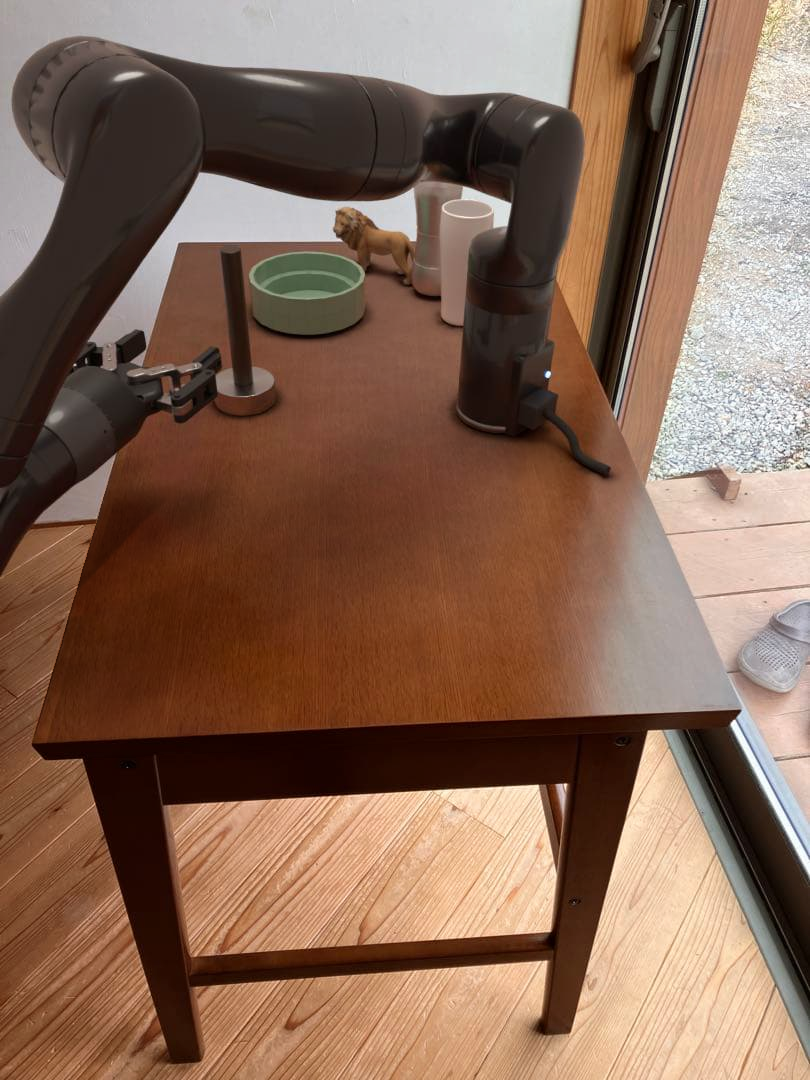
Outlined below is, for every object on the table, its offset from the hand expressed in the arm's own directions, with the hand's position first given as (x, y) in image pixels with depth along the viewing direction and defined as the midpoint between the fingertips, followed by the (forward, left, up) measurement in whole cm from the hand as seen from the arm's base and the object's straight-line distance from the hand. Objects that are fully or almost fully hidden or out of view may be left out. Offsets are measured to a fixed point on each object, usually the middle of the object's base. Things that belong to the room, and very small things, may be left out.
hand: (179, 346), depth 87 cm
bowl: (+15, -31, -12) cm, 37 cm away
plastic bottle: (+7, -48, -12) cm, 50 cm away
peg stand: (+4, -10, -12) cm, 16 cm away
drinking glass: (-1, -44, -12) cm, 46 cm away
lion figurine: (+17, -47, -12) cm, 52 cm away
